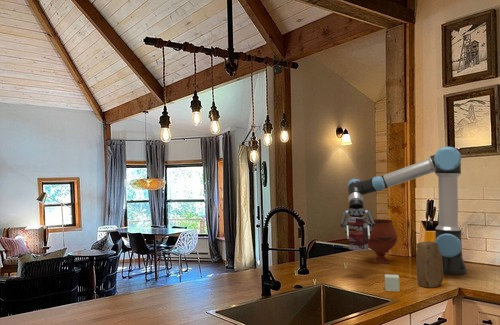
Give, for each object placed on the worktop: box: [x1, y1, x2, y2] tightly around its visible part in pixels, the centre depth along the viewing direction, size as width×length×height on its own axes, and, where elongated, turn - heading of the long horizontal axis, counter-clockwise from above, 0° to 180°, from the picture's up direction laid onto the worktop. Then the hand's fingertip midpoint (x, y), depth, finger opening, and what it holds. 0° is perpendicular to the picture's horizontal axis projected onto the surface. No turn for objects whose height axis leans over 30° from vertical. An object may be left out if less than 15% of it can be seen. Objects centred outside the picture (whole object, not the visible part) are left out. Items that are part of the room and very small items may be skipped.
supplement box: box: [347, 217, 369, 251], centre depth 208 cm, size 9×5×16 cm, turn 47°
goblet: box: [368, 218, 398, 265], centre depth 245 cm, size 19×19×25 cm
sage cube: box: [384, 273, 401, 292], centre depth 186 cm, size 6×6×6 cm
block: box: [415, 240, 444, 289], centre depth 191 cm, size 11×8×20 cm
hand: (358, 237), depth 204 cm, fingers closed on supplement box, 9 cm apart
